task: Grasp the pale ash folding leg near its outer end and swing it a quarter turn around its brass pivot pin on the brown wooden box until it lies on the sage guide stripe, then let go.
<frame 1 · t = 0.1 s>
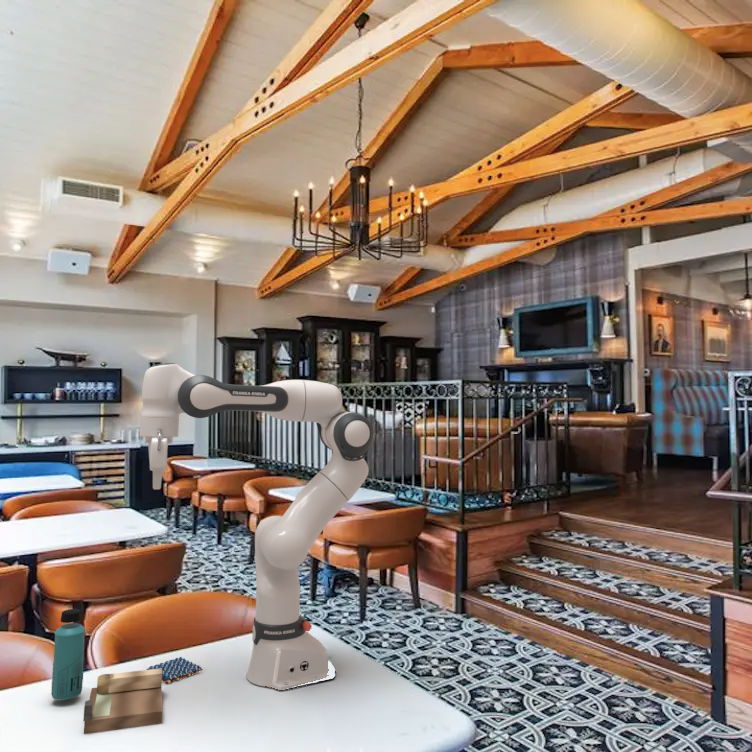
hand: (156, 486, 148), 48 cm above the table, tool pointing down, fingers open, 8 cm apart
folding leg: (129, 681, 140), point 4 cm above the table, hinge at 90.0°
woven mat: (174, 675, 156), on the table
beverage bottle: (66, 701, 139), on the table
brown wooden box: (125, 710, 135), on the table
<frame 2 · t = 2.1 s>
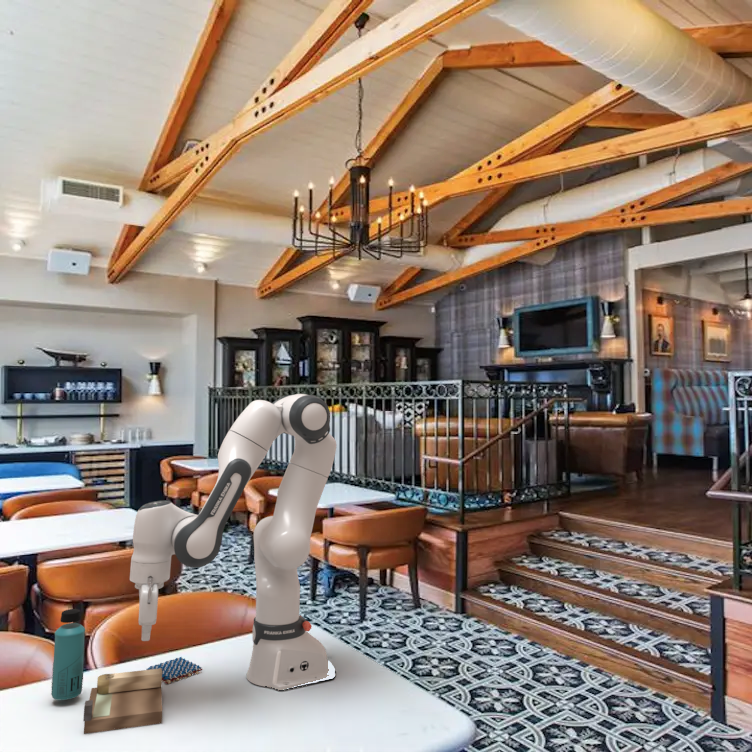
hand: (145, 632, 142), 15 cm above the table, tool pointing down, fingers open, 8 cm apart
nothing on the table moved.
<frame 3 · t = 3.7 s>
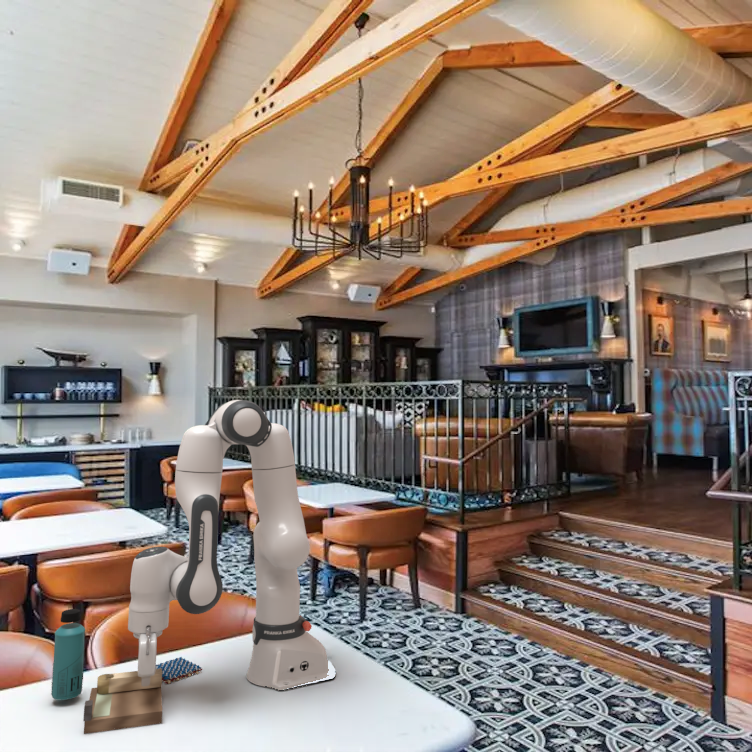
hand: (145, 681, 141), 4 cm above the table, tool pointing down, fingers closed on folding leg, 3 cm apart
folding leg: (129, 681, 140), point 4 cm above the table, hinge at 90.0°, touching gripper
everything else where it was.
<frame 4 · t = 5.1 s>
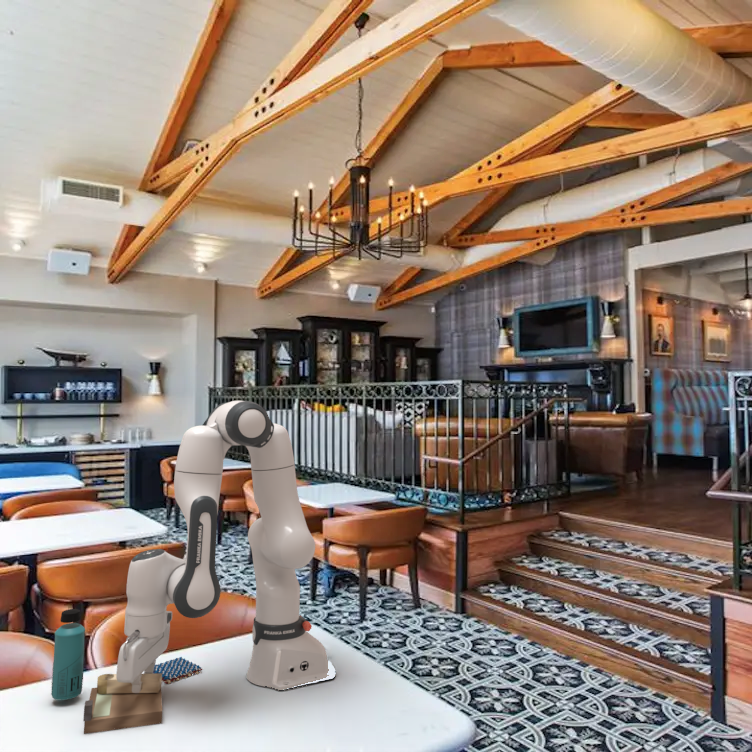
hand: (142, 686, 139), 4 cm above the table, tool pointing down, fingers open, 4 cm apart
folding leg: (129, 683, 139), point 4 cm above the table, hinge at 75.8°, touching gripper
everything else where it was.
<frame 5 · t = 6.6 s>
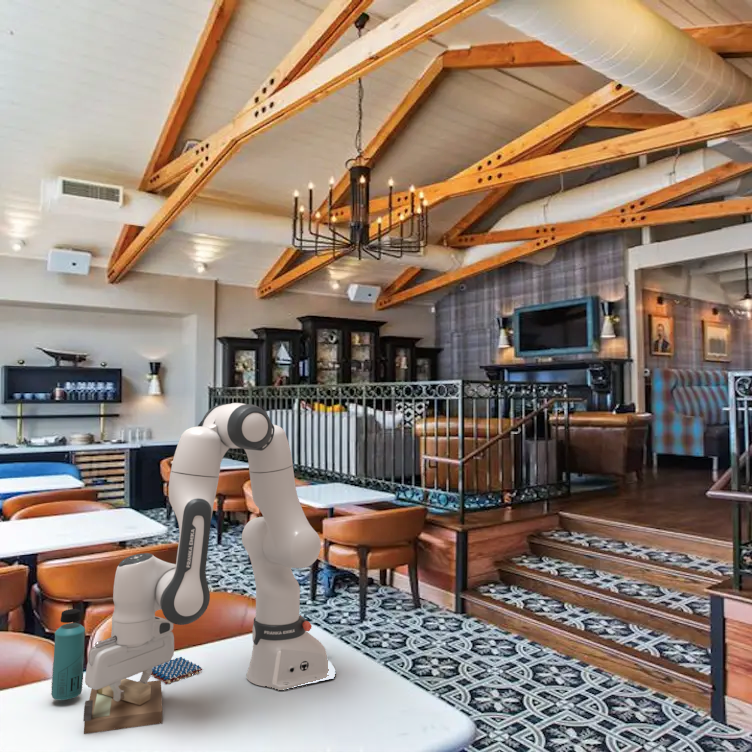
hand: (130, 694, 134), 4 cm above the table, tool pointing down, fingers open, 4 cm apart
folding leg: (122, 688, 136), point 4 cm above the table, hinge at 45.4°, touching gripper
everything else where it was.
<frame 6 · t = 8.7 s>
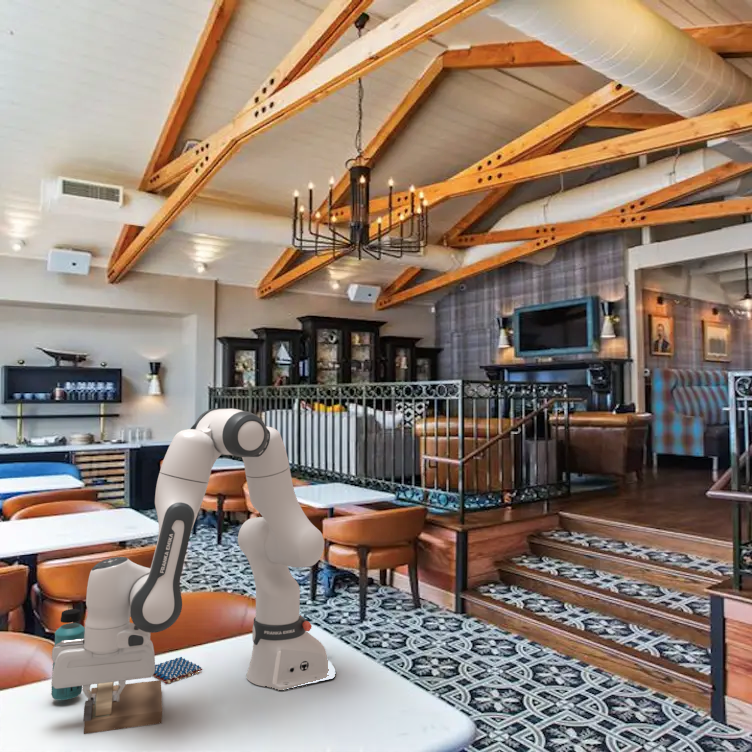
hand: (103, 702, 131), 4 cm above the table, tool pointing down, fingers closed on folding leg, 3 cm apart
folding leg: (104, 693, 134), point 4 cm above the table, hinge at 2.1°, touching gripper
everything else where it was.
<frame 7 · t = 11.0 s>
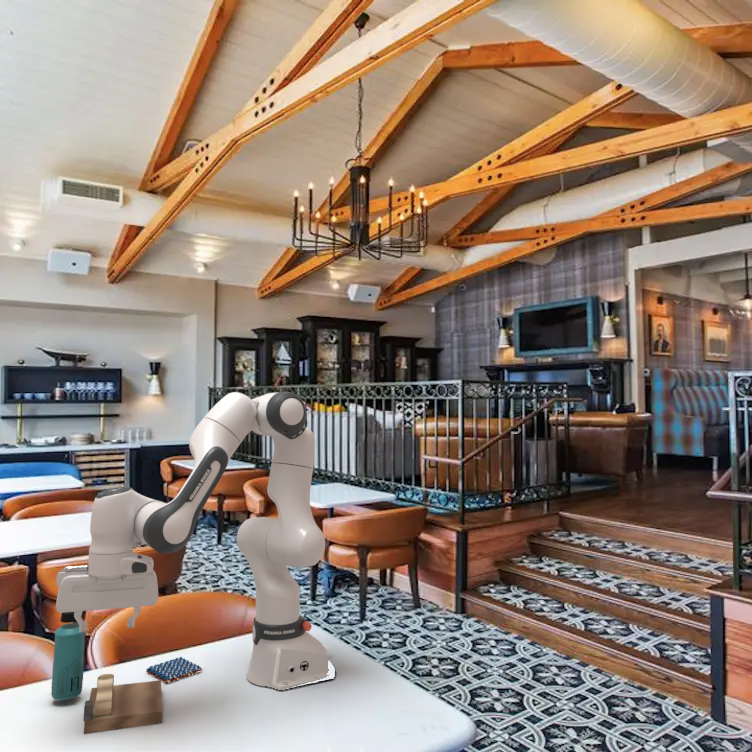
hand: (107, 629, 132), 19 cm above the table, tool pointing down, fingers open, 8 cm apart
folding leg: (104, 693, 134), point 4 cm above the table, hinge at 1.9°
everything else where it was.
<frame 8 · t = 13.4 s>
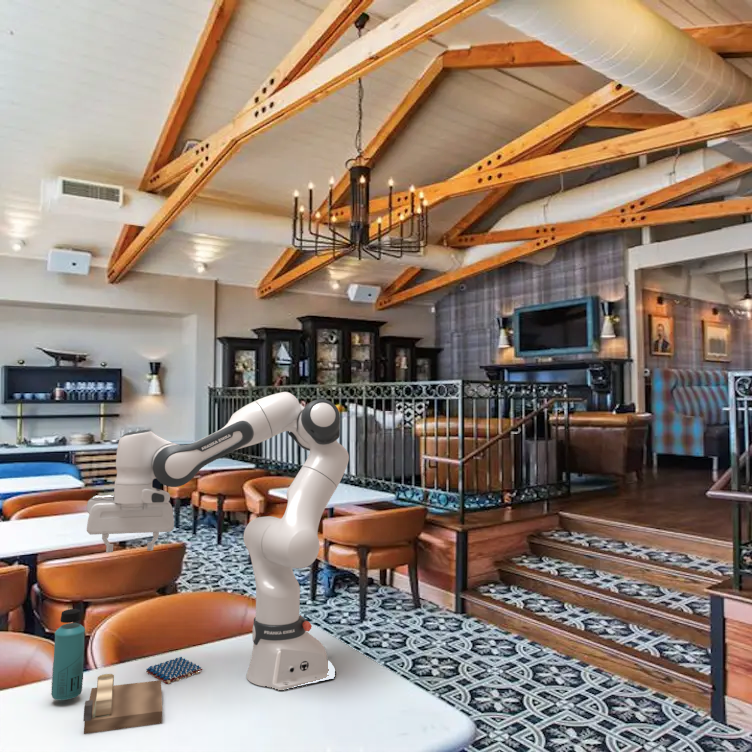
hand: (130, 551, 153), 31 cm above the table, tool pointing down, fingers open, 8 cm apart
nothing on the table moved.
at the end: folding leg at +2° (first picture: +90°); the gripper is holding nothing; beverage bottle moved 0.2 cm from its start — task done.
